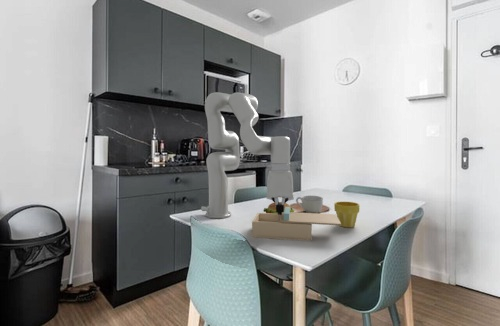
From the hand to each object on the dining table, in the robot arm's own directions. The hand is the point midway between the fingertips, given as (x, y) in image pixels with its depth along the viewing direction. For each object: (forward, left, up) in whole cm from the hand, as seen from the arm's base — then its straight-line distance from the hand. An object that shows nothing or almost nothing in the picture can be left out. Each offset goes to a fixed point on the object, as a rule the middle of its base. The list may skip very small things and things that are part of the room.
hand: (279, 213), depth 107 cm
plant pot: (+28, +16, -8) cm, 33 cm away
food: (-2, +22, -8) cm, 24 cm away
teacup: (+13, +39, -8) cm, 42 cm away
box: (+1, 0, -8) cm, 8 cm away
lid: (+11, 0, -1) cm, 11 cm away
